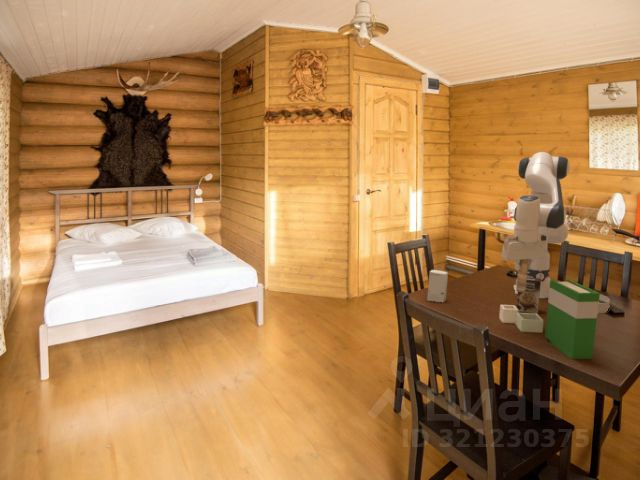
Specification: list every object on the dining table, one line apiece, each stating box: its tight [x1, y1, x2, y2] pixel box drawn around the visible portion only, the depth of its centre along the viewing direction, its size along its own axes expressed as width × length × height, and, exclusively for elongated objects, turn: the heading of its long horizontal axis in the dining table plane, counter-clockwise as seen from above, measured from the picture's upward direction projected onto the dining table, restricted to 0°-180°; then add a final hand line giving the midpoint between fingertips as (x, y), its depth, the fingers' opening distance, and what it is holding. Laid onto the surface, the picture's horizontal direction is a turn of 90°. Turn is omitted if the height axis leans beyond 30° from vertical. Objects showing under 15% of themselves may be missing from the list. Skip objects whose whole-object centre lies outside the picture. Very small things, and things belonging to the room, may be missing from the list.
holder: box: [515, 312, 545, 334], centre depth 181 cm, size 8×8×6 cm
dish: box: [597, 293, 611, 314], centre depth 212 cm, size 22×22×5 cm
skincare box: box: [426, 269, 449, 304], centre depth 219 cm, size 8×6×15 cm
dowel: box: [516, 259, 528, 292], centre depth 181 cm, size 4×4×15 cm
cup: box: [498, 304, 519, 324], centre depth 190 cm, size 6×6×7 cm
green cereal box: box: [544, 279, 601, 360], centre depth 163 cm, size 18×7×24 cm, turn 3°
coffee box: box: [515, 277, 541, 315], centre depth 202 cm, size 9×6×16 cm
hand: (522, 269), depth 181 cm, fingers closed on dowel, 3 cm apart
